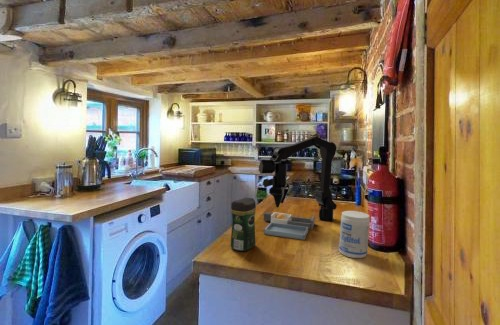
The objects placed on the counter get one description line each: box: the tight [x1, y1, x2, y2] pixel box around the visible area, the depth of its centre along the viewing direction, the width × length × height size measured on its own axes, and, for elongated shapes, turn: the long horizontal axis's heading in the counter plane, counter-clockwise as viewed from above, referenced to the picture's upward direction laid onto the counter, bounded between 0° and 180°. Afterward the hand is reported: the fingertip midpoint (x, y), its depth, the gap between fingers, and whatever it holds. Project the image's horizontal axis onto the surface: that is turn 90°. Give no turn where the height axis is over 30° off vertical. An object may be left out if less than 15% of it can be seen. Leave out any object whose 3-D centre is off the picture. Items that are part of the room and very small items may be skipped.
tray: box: [263, 221, 309, 241], centre depth 119 cm, size 17×11×2 cm, turn 70°
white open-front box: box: [263, 211, 293, 224], centre depth 133 cm, size 13×6×4 cm, turn 70°
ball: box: [277, 214, 284, 220], centre depth 133 cm, size 4×4×4 cm
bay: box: [287, 215, 315, 231], centre depth 129 cm, size 12×9×4 cm
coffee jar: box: [230, 196, 257, 252], centre depth 101 cm, size 10×8×19 cm
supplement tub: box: [338, 210, 371, 259], centre depth 98 cm, size 10×10×15 cm
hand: (279, 205), depth 132 cm, fingers open, 9 cm apart
